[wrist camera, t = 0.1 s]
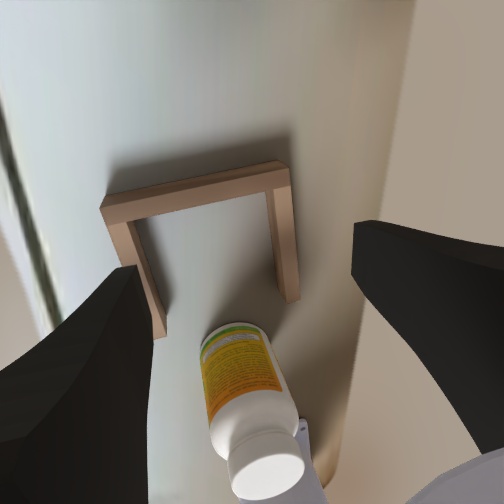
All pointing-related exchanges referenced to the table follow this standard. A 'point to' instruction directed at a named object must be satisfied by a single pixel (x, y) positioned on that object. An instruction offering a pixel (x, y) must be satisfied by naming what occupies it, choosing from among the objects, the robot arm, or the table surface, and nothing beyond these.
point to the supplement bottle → (250, 411)
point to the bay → (196, 194)
